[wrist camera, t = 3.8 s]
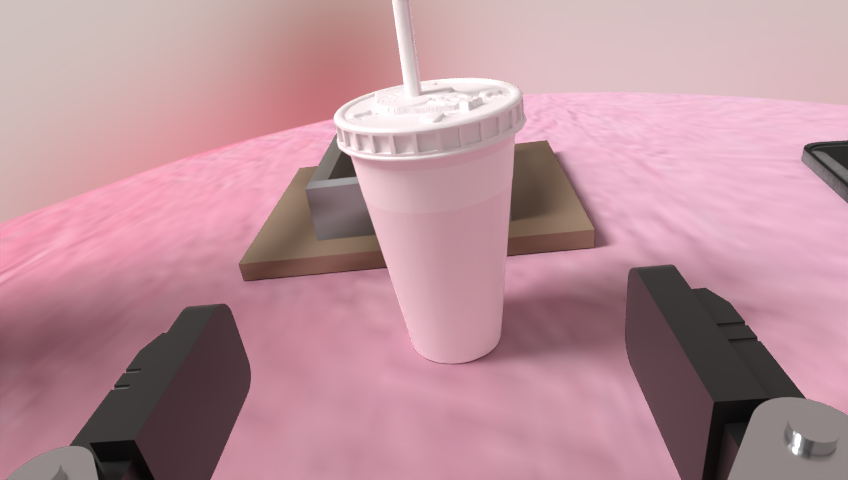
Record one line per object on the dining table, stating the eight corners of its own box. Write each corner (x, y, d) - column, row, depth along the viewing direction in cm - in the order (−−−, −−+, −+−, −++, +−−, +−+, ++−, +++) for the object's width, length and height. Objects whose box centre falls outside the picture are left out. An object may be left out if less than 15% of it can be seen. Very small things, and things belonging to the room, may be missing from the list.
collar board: (243, 280, 29) (221, 211, 27) (303, 180, 42) (290, 128, 40) (594, 247, 28) (595, 171, 26) (547, 153, 40) (545, 98, 38)
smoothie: (444, 277, 27) (402, -46, 21) (564, 317, 23) (560, -68, 17) (346, 350, 23) (256, -24, 16) (473, 414, 19) (419, -46, 12)
